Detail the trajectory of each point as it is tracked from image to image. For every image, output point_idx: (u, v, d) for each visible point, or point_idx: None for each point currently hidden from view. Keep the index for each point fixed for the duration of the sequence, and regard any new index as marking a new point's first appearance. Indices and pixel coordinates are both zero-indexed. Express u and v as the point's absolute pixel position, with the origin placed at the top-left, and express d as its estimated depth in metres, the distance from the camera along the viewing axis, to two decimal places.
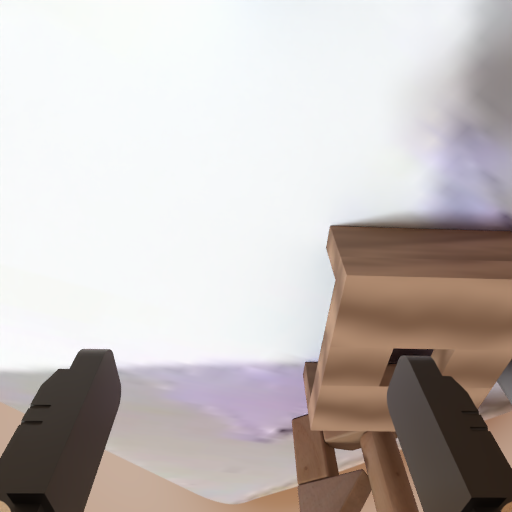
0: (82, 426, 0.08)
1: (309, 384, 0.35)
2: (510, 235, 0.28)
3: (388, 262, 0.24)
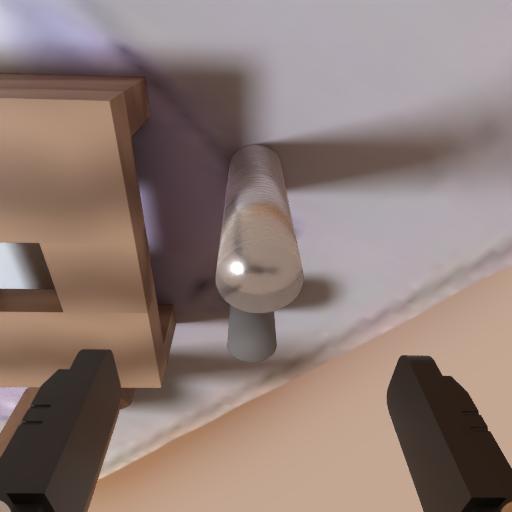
0: (83, 425, 0.08)
1: None
2: (134, 78, 0.19)
3: None
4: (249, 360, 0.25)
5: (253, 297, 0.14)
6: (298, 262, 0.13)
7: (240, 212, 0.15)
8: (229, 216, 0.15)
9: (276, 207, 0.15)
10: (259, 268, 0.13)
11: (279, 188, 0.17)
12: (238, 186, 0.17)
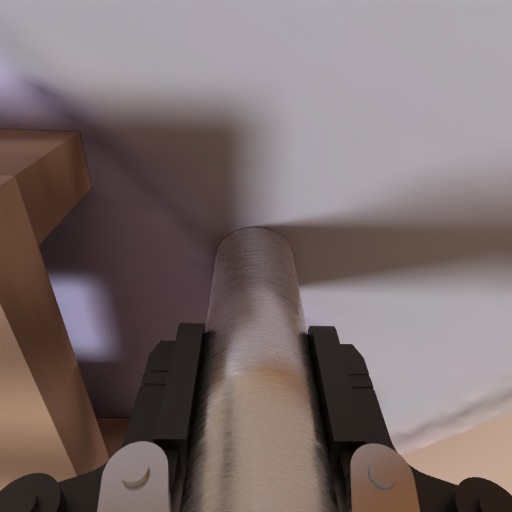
0: (196, 387, 0.09)
1: None
2: (58, 136, 0.12)
3: None
4: None
5: None
6: None
7: (224, 438, 0.07)
8: (202, 430, 0.08)
9: (295, 416, 0.08)
10: None
11: (296, 338, 0.10)
12: (225, 337, 0.10)
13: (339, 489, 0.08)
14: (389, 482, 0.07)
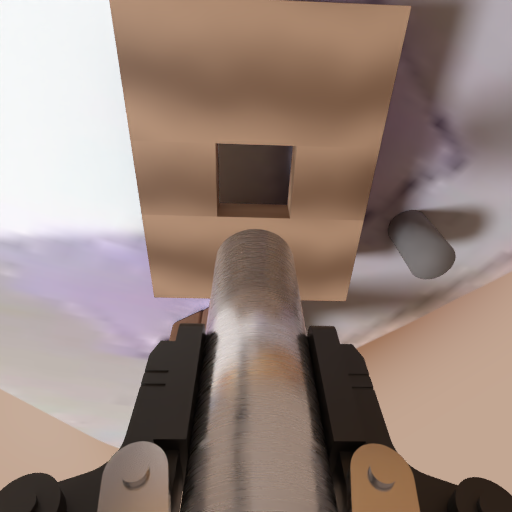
0: (196, 388, 0.09)
1: None
2: None
3: None
4: (424, 277, 0.27)
5: None
6: None
7: (224, 440, 0.07)
8: (203, 432, 0.08)
9: (295, 418, 0.08)
10: None
11: (296, 341, 0.10)
12: (225, 339, 0.10)
13: (339, 489, 0.08)
14: (389, 482, 0.07)
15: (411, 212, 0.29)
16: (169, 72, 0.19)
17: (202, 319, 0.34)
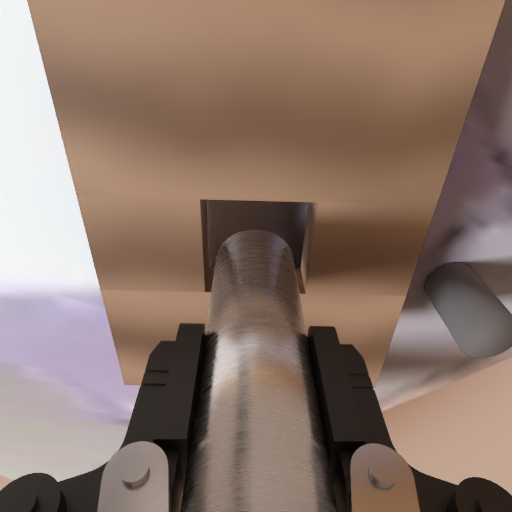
0: (196, 387, 0.09)
1: None
2: None
3: None
4: (478, 355, 0.21)
5: None
6: None
7: (224, 440, 0.07)
8: (203, 432, 0.08)
9: (295, 419, 0.08)
10: None
11: (296, 341, 0.10)
12: (225, 339, 0.10)
13: (339, 489, 0.08)
14: (389, 482, 0.07)
15: (456, 266, 0.23)
16: (127, 100, 0.12)
17: None
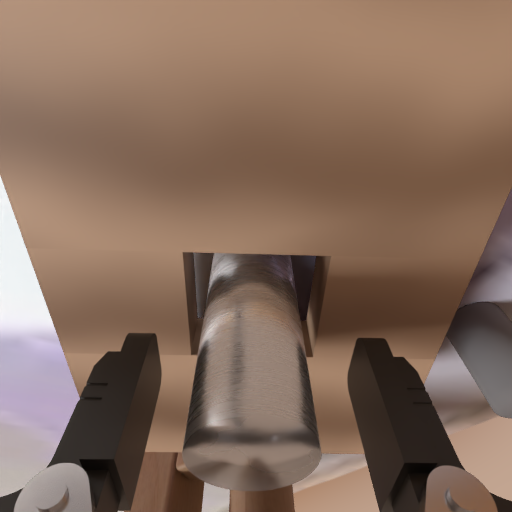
0: (137, 402, 0.09)
1: None
2: None
3: None
4: (511, 416, 0.18)
5: (242, 475, 0.09)
6: (314, 437, 0.08)
7: (225, 332, 0.10)
8: (210, 331, 0.10)
9: (279, 320, 0.10)
10: (251, 444, 0.08)
11: (283, 275, 0.12)
12: (226, 272, 0.12)
13: None
14: (471, 508, 0.07)
15: (482, 307, 0.20)
16: (84, 133, 0.09)
17: None
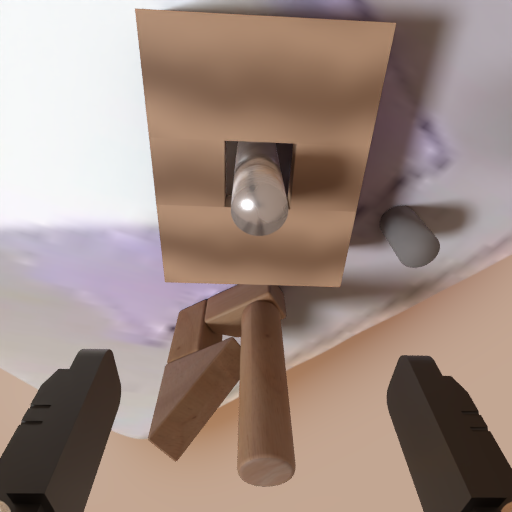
0: (83, 425, 0.08)
1: None
2: None
3: None
4: (412, 265, 0.30)
5: (255, 223, 0.21)
6: (285, 198, 0.20)
7: (247, 169, 0.22)
8: (239, 172, 0.22)
9: (271, 167, 0.22)
10: (259, 201, 0.20)
11: (274, 158, 0.24)
12: (245, 155, 0.24)
13: None
14: None
15: (400, 207, 0.32)
16: (185, 77, 0.21)
17: (207, 307, 0.36)
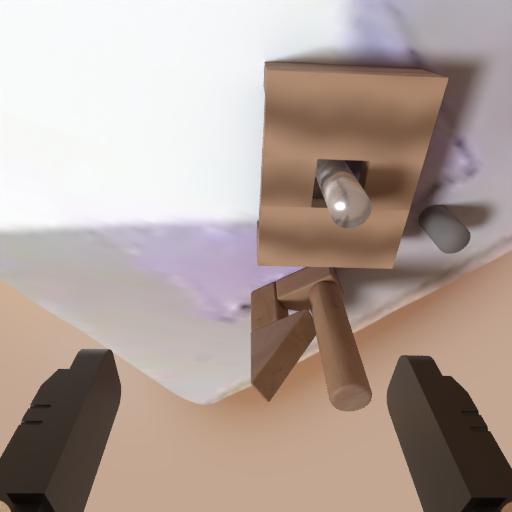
0: (83, 425, 0.08)
1: None
2: (417, 68, 0.33)
3: (305, 69, 0.29)
4: (448, 252, 0.38)
5: (347, 219, 0.29)
6: (370, 201, 0.29)
7: (338, 180, 0.30)
8: (330, 183, 0.31)
9: (354, 179, 0.31)
10: (352, 203, 0.29)
11: (351, 171, 0.33)
12: (330, 169, 0.33)
13: None
14: None
15: (437, 206, 0.41)
16: (295, 115, 0.30)
17: (277, 287, 0.45)
